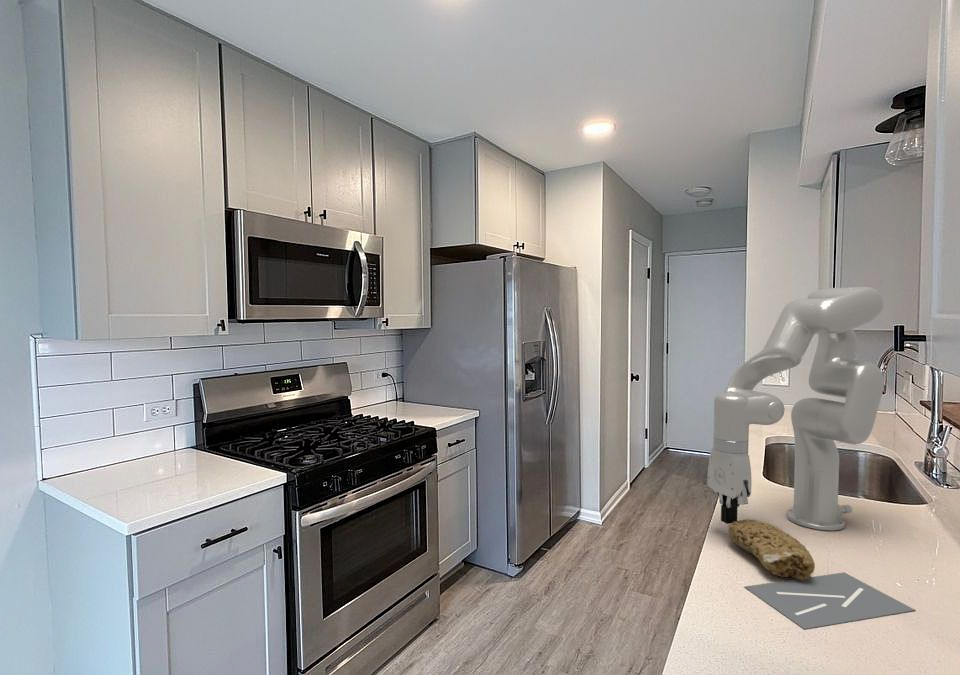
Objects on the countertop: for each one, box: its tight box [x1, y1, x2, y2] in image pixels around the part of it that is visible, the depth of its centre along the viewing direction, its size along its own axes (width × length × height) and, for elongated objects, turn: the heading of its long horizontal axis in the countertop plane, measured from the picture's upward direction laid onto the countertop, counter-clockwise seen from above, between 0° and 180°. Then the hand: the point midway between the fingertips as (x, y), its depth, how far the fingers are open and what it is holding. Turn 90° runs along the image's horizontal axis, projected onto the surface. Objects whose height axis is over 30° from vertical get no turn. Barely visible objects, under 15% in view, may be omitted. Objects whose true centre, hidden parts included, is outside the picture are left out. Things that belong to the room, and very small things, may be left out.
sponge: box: [727, 519, 816, 581], centre depth 112 cm, size 13×8×20 cm
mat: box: [744, 571, 916, 630], centre depth 97 cm, size 24×14×1 cm, turn 103°
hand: (728, 521), depth 124 cm, fingers closed
